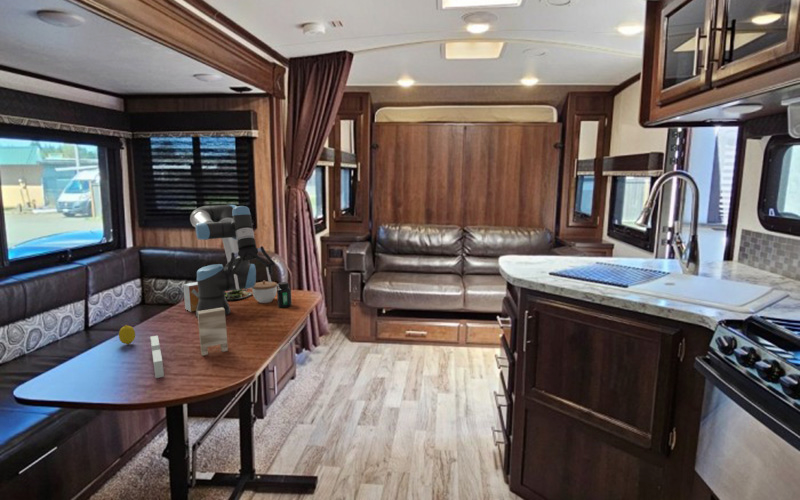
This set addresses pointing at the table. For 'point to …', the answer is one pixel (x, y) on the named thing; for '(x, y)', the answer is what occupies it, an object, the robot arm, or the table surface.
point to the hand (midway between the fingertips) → (254, 285)
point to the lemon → (126, 334)
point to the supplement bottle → (284, 295)
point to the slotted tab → (212, 329)
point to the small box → (191, 296)
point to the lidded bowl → (264, 291)
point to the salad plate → (236, 295)
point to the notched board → (157, 357)
